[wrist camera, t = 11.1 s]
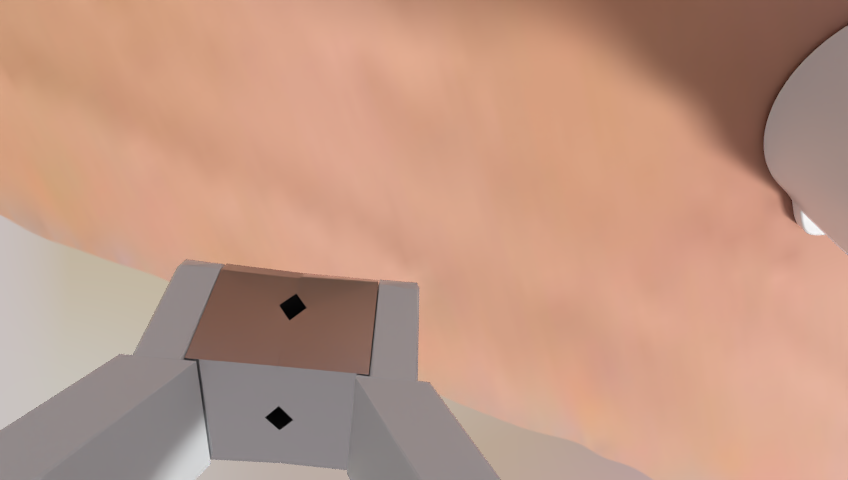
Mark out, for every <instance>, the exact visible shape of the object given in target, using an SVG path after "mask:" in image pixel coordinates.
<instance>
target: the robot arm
mask: <svg viewBox="0 0 848 480" xmlns="http://www.w3.org/2000/svg"><path fill="white" fill-rule="evenodd" d="M764 155H765V160H766V164H767V166H768V169H769V171H770V173H771V175H772V176H773V178H774V179H775V181H776V182H777V183H778V184H779V185H780V186H781V187H782V188H783V189H784V190H785V191H786V192H787V194H788V195H789V196H790V198H791V200H792V205H793V212H794V217H795V220H796V223H797V224H798V225H799V226H800V227H801V228H802V229H803V230H804V231H805V232H806V233H808V234H810V235H827V236H828V237H829V238H830V239H831V240H832V241H833V242H834V243H835V244H836V245H837V246H838V247H839V248H840V249H841V250H842V251H843V252H845V253H846V254H847V255H848V26H846V27H844V28H843V29H841V30H840V31H838V32H837V33H835V34H834V35H833V36H831V37H830V38H829V39H827V40H826V41H825V42H824V43H822V44H821V45H820V46H819V47H818V48H816V49H815V50H814V51H813V52H812V53H811V54H810V55H809V56H808V57H807V58H806V59H805V60H804V61H803V62H802V63H801V64H800V65H799V67H798V68H797V69H796V70H795V71H794V72H793V74H792V75H791V76H790V78H789V79H788V80H787V82H786V83H785V85H784V86H783V88H782V89H781V91H780V93H779V94H778V96H777V98H776V100H775V102H774V104H773V106H772V109H771V111H770V114H769V117H768V120H767V123H766V128H765V133H764ZM418 331H419V286H418V284H417V283H414V282H402V281H390V280H380V281H379V285H378V280H371V279H360V278H350V277H339V276H328V275H318V274H307V273H297V272H289V271H281V270H273V269H265V268H257V267H249V266H241V265H233V264H226V265H224V264H218V263H211V262H203V261H195V260H187V259H186V260H185V261H184V262H183V263H181V264H180V265H179V266H178V267H177V269H176V271H175V273H174V275H173V277H172V279H171V281H170V283H169V284H168V286H167V288H166V291H165V292H164V294H163V296H162V298H161V300H160V302H159V304H158V306H157V308H156V310H155V312H154V314H153V316H152V318H151V320H150V322H149V324H148V326H147V328H146V330H145V332H144V334H143V336H142V338H141V340H140V342H139V344H138V346H137V348H136V350H135V352H134V353H133V355H123V354H119V355H118V356H116V357H114V358H113V359H111V360H110V361H108V362H107V363H105V364H104V365H102V366H101V367H99V368H97V369H96V370H94V371H93V372H91V373H90V374H88V375H86V376H85V377H83V378H82V379H80V380H79V381H77V382H75V383H74V384H72V385H71V386H69V387H68V388H66V389H64V390H63V391H61V392H60V393H58V394H57V395H55V396H54V397H52V398H50V399H49V400H47V401H46V402H44V403H43V404H41V405H39V406H38V407H36V408H35V409H33V410H32V411H30V412H28V413H27V414H26V415H24V416H22V417H21V418H19V419H18V420H16V421H15V422H13V423H11V424H10V425H8V426H7V427H5V428H4V429H2V430H0V480H195V479H196V478H197V477H198V476H199V475H200V474H201V473H202V472H203V471H204V470H205V469H206V468H207V467H208V466H209V465H210V464H211V462H210V459H215V460H235V461H253V462H273V463H280V462H281V463H286V464H295V465H305V466H314V467H324V468H332V469H343V470H347V474H348V476H349V479H350V480H501V479H500V478H499V476H498V475H497V474H496V472H495V471H494V469H493V468H492V467H491V465H490V464H489V463H488V461H487V460H486V459H485V457H484V456H483V454H482V453H481V452H480V450H479V449H478V448H477V446H476V445H475V444H474V442H473V441H472V440H471V438H470V437H469V435H468V434H467V433H466V431H465V430H464V429H463V427H462V426H461V424H460V423H459V422H458V420H457V419H456V418H455V416H454V415H453V414H452V412H451V411H450V410H449V408H448V407H447V405H446V404H445V403H444V401H443V400H442V399H441V397H440V396H439V394H438V393H437V392H436V390H435V389H434V388H433V386H432V385H431V384H430V382H423V381H418Z"/></svg>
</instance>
